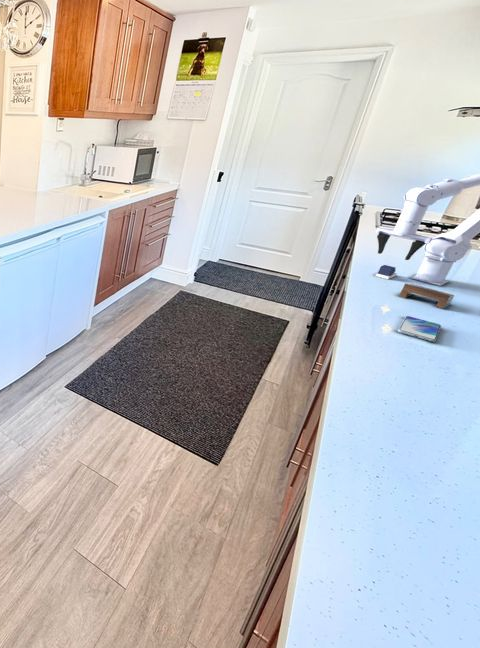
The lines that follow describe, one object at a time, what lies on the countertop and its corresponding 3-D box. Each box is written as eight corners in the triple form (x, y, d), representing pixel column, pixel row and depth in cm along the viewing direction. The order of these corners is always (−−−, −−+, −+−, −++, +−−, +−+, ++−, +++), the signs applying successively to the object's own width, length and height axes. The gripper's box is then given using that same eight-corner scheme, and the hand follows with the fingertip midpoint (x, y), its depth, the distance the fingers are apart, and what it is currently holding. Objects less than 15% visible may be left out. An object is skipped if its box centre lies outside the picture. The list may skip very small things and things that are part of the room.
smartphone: (398, 329, 112) (406, 315, 120) (396, 332, 112) (405, 317, 121) (436, 340, 106) (441, 324, 115) (434, 343, 107) (440, 327, 115)
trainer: (387, 279, 151) (392, 269, 150) (375, 275, 154) (379, 266, 153) (396, 275, 155) (400, 266, 154) (383, 272, 158) (388, 263, 157)
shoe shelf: (406, 292, 139) (412, 280, 138) (449, 304, 131) (456, 291, 129) (398, 296, 136) (404, 283, 134) (442, 308, 128) (450, 295, 126)
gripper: (378, 217, 149) (364, 251, 155) (434, 227, 138) (416, 264, 143) (386, 215, 153) (371, 249, 158) (440, 225, 141) (422, 261, 146)
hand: (393, 256), depth 151 cm, fingers open, 7 cm apart
